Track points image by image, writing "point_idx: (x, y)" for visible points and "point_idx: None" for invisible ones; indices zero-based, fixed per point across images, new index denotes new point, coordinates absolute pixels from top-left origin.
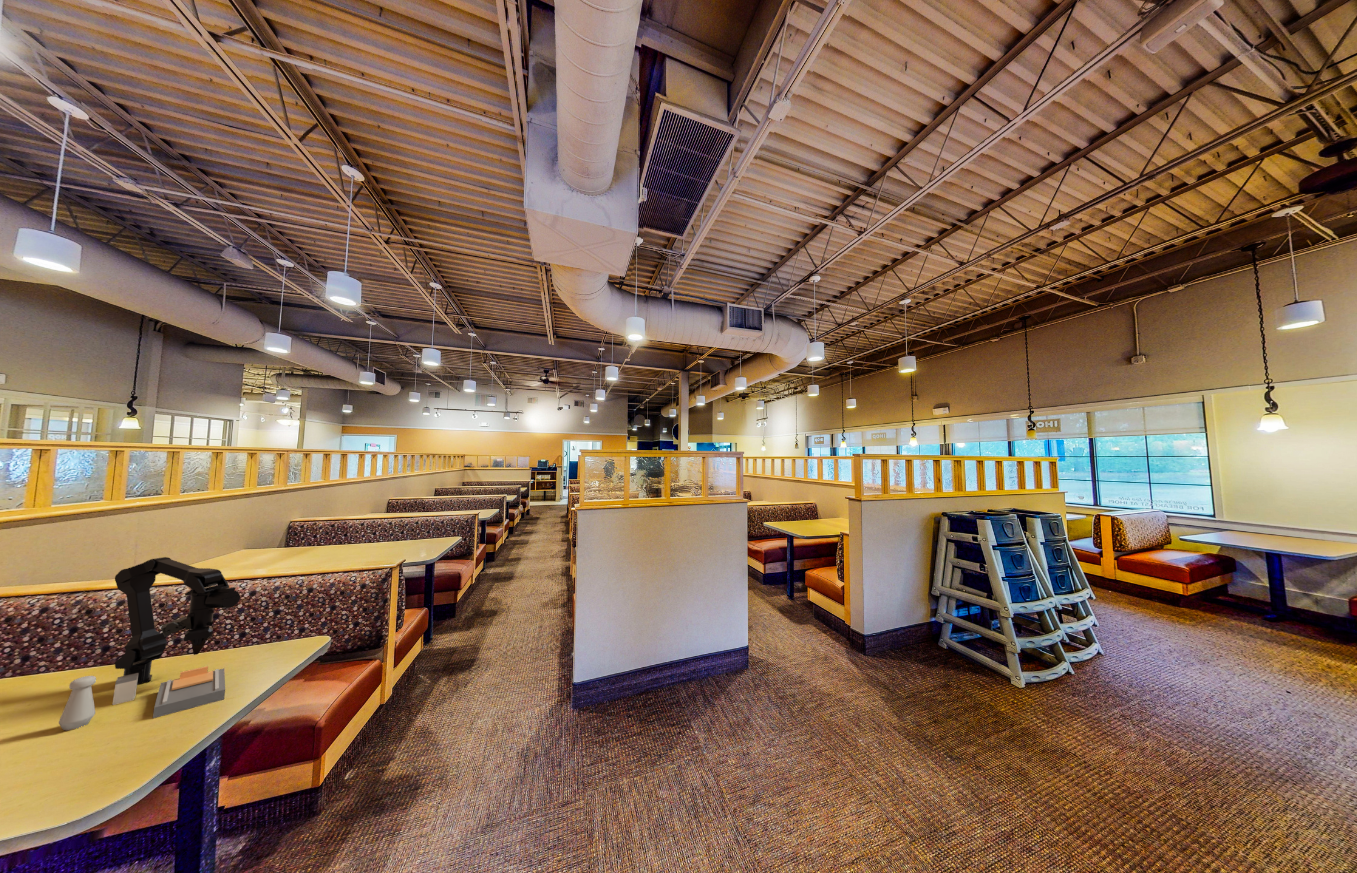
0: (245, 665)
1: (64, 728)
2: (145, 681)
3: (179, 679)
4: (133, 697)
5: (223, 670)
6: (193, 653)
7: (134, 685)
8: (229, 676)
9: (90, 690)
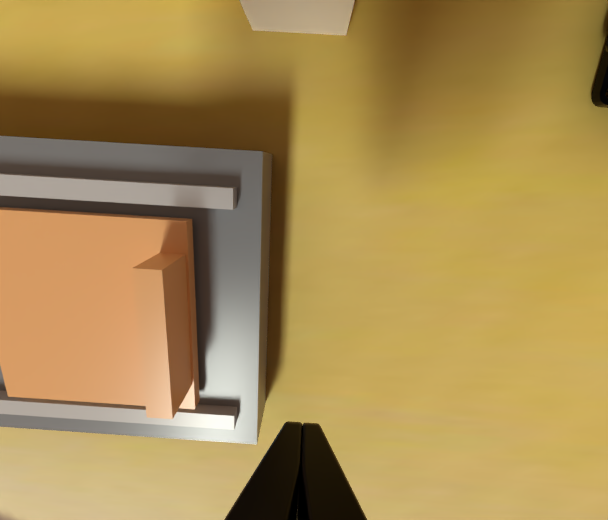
0: (381, 483)
1: None
2: (602, 77)
3: (157, 251)
4: (251, 18)
5: (212, 437)
6: (279, 433)
7: None
8: None
9: None
